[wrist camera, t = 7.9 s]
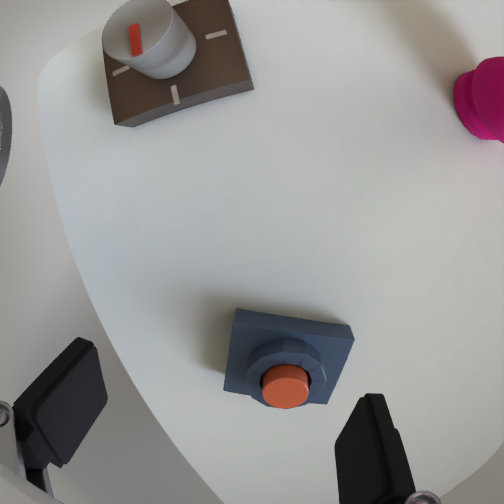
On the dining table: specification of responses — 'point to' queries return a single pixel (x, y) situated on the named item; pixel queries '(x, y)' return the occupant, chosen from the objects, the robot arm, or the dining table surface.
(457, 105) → the pepper mill
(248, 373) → the button box
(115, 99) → the dial panel
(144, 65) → the dial knob
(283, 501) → the dining table surface
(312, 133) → the dining table surface
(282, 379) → the button
